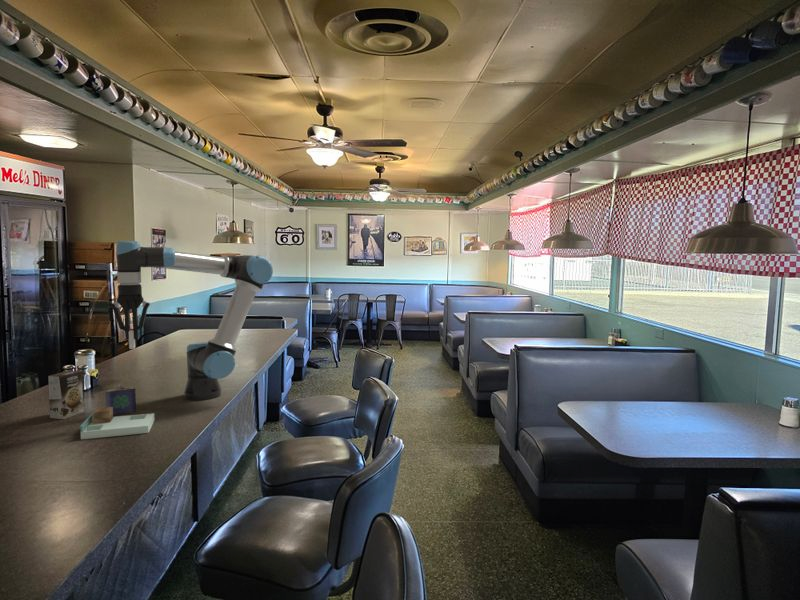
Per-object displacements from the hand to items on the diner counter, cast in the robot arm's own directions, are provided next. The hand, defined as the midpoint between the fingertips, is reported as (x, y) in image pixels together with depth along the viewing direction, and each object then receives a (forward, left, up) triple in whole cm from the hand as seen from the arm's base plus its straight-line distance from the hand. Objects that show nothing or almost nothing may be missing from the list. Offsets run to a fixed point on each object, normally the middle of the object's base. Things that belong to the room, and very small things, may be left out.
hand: (132, 348), depth 181 cm
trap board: (+3, +11, -26) cm, 29 cm away
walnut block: (+9, +8, -24) cm, 27 cm away
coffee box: (+25, -12, -27) cm, 38 cm away
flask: (+6, -8, -27) cm, 29 cm away
